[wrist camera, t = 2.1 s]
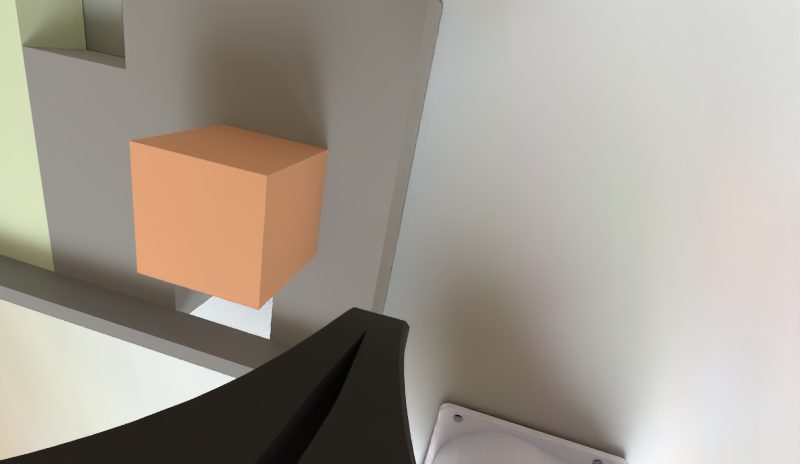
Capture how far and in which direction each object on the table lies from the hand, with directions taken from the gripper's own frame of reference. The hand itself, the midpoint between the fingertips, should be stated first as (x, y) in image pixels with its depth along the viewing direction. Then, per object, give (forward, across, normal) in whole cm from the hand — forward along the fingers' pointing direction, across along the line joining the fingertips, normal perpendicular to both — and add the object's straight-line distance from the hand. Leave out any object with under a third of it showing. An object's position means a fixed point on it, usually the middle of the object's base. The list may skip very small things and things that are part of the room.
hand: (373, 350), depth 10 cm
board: (+10, +13, 0) cm, 16 cm away
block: (+7, +7, 0) cm, 10 cm away
